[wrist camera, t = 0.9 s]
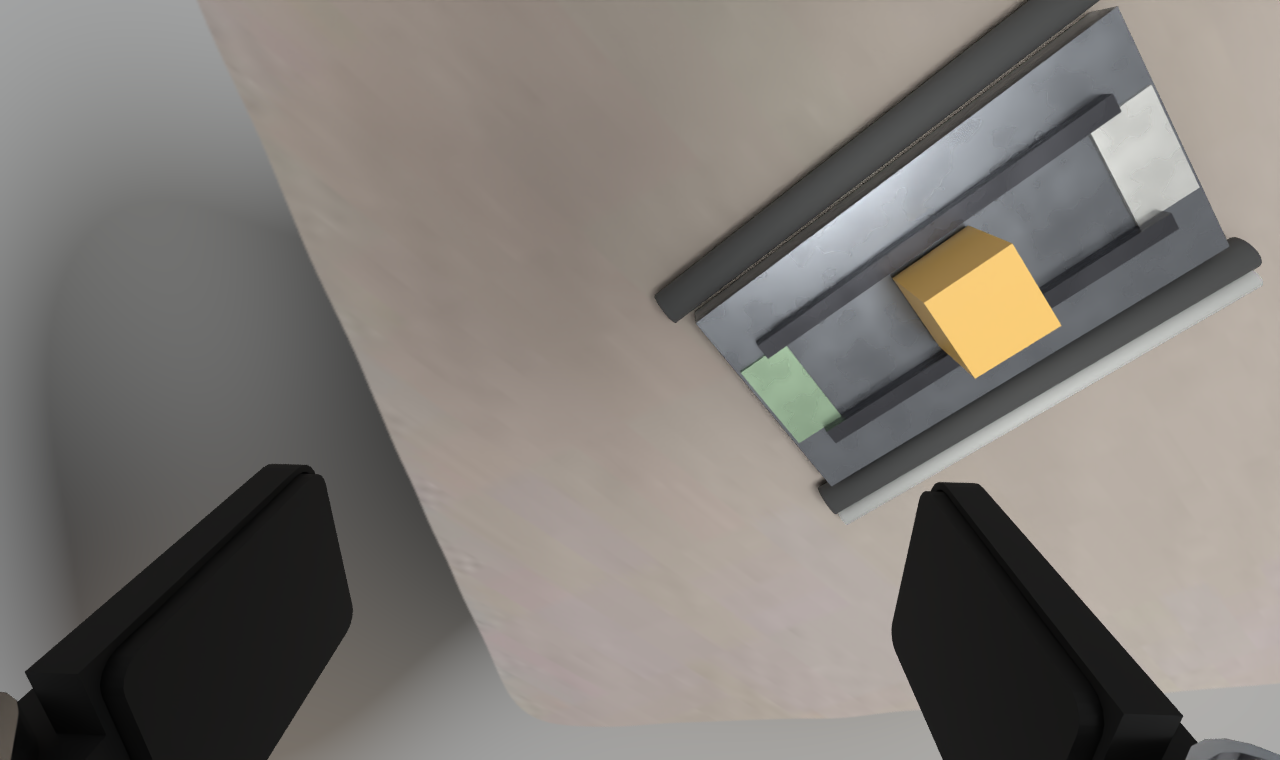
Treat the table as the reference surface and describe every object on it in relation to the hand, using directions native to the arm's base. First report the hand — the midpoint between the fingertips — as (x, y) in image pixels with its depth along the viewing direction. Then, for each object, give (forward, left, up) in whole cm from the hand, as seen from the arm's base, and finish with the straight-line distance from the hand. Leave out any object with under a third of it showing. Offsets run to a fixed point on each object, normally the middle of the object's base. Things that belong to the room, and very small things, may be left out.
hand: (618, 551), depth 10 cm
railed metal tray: (-11, +12, -27) cm, 32 cm away
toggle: (-11, +12, -25) cm, 30 cm away
